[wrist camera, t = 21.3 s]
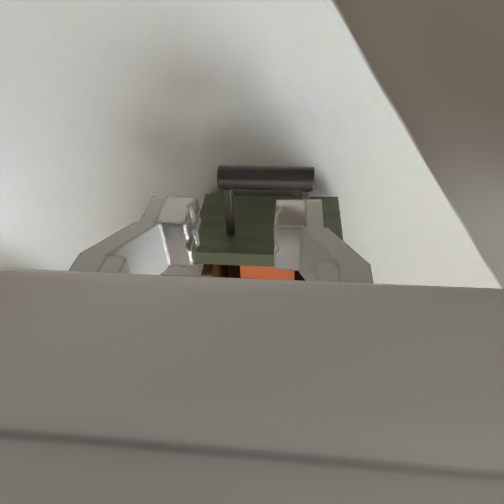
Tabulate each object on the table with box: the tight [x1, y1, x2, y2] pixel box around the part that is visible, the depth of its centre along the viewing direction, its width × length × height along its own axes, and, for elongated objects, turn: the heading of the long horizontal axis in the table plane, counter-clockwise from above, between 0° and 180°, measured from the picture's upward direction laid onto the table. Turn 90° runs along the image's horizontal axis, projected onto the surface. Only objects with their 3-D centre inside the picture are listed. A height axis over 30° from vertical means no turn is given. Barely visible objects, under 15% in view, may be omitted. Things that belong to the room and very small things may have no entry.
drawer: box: [194, 166, 343, 281], centre depth 34 cm, size 19×11×8 cm, turn 2°
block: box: [240, 265, 295, 280], centre depth 35 cm, size 4×4×4 cm
